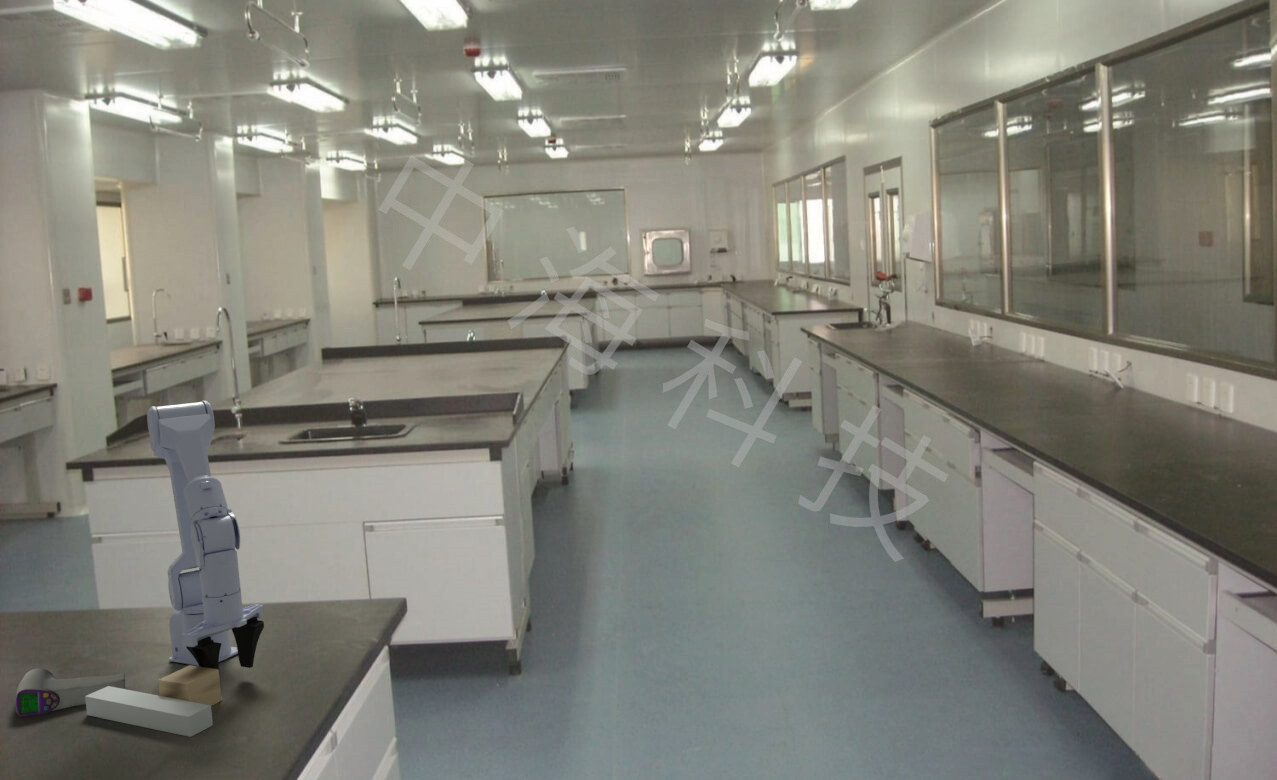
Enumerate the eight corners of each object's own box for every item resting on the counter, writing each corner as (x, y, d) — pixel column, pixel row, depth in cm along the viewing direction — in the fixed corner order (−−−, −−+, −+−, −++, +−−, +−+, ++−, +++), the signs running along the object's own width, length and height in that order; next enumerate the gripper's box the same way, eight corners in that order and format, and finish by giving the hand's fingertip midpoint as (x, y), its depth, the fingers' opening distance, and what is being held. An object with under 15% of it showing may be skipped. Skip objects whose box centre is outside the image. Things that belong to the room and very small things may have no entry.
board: (87, 715, 158) (85, 696, 157) (110, 704, 161) (108, 686, 161) (190, 736, 148) (188, 716, 148) (213, 725, 152) (210, 705, 151)
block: (161, 711, 158) (158, 679, 157) (192, 695, 163) (189, 665, 163) (191, 716, 155) (187, 684, 155) (221, 700, 161) (218, 669, 160)
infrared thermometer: (126, 704, 164) (15, 721, 157) (124, 679, 175) (20, 694, 168) (125, 676, 164) (14, 692, 157) (123, 652, 175) (19, 666, 168)
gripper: (202, 609, 156) (212, 695, 158) (274, 580, 169) (282, 661, 171) (169, 604, 159) (178, 689, 161) (242, 577, 172) (250, 656, 174)
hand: (230, 674), depth 166 cm, fingers open, 6 cm apart
